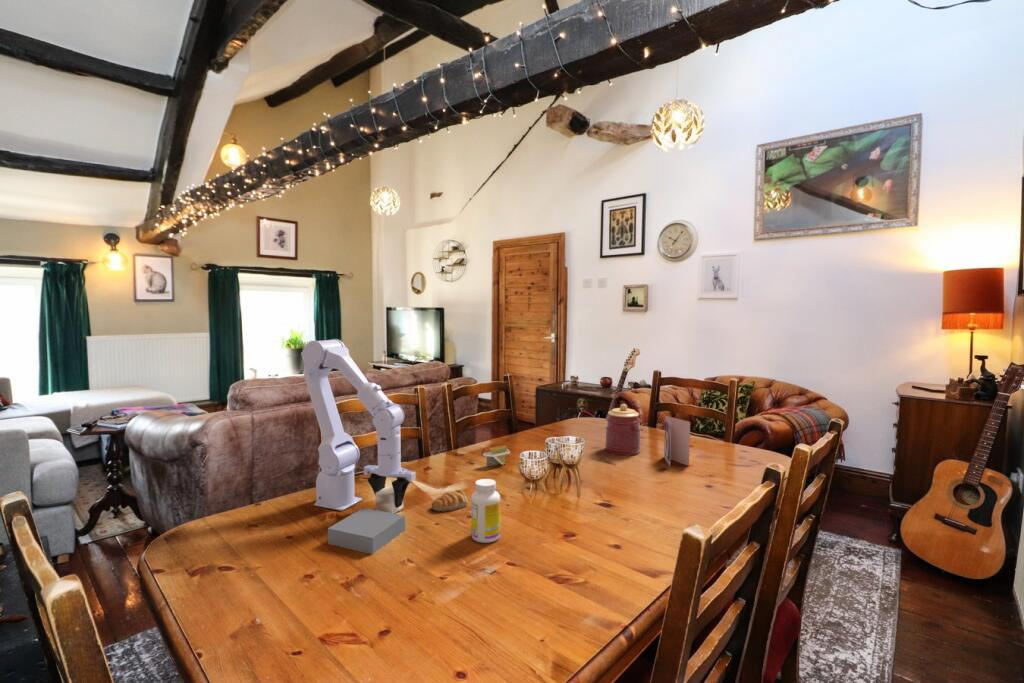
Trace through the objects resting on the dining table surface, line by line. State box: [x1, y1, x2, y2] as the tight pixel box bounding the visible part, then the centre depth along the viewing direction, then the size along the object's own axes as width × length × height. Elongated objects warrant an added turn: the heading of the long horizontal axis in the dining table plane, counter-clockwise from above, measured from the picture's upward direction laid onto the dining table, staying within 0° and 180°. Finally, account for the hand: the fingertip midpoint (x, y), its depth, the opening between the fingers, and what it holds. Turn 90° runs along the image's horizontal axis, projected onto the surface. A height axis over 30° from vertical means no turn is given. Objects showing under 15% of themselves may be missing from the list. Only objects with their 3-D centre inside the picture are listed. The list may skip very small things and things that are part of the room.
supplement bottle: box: [470, 478, 501, 544], centre depth 109 cm, size 7×7×13 cm
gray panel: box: [327, 507, 406, 555], centre depth 109 cm, size 12×12×4 cm
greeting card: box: [663, 415, 691, 467], centre depth 165 cm, size 11×7×15 cm, turn 172°
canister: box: [604, 403, 642, 456], centre depth 179 cm, size 13×13×18 cm
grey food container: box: [482, 445, 511, 468], centre depth 161 cm, size 12×18×7 cm, turn 127°
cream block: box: [374, 485, 404, 514], centre depth 124 cm, size 5×5×5 cm
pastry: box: [431, 489, 469, 512], centre depth 127 cm, size 9×7×4 cm
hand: (389, 504), depth 124 cm, fingers closed on cream block, 5 cm apart
